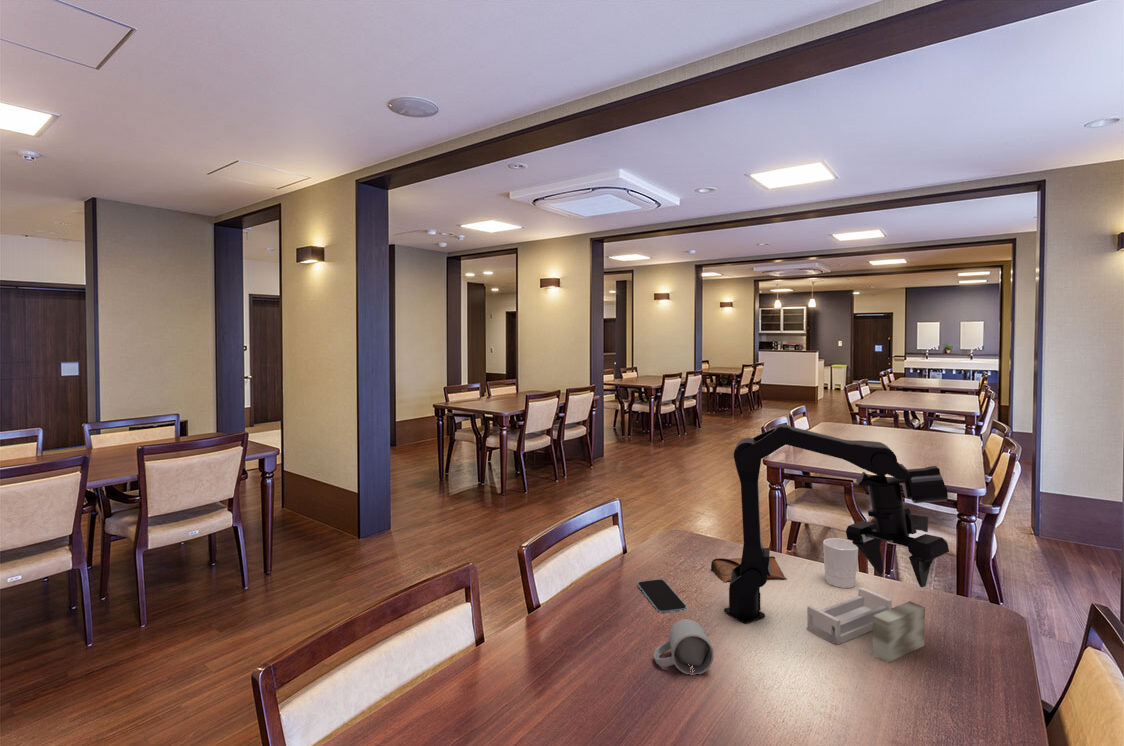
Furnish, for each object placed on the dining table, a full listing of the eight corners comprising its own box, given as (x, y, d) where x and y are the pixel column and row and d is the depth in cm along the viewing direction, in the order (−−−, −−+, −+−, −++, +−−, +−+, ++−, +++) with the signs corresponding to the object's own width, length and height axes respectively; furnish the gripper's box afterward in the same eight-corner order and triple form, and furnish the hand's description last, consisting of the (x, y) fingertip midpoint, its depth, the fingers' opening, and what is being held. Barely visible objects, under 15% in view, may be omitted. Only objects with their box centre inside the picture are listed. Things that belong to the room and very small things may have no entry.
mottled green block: (887, 663, 104) (888, 622, 104) (872, 655, 107) (873, 615, 106) (924, 646, 110) (925, 607, 109) (908, 638, 112) (909, 601, 112)
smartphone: (658, 611, 124) (636, 581, 139) (658, 616, 124) (636, 586, 139) (688, 607, 126) (662, 578, 140) (688, 612, 126) (662, 582, 140)
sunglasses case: (722, 583, 139) (717, 556, 142) (713, 586, 145) (709, 560, 148) (790, 579, 140) (784, 552, 143) (778, 582, 147) (773, 556, 150)
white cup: (849, 576, 142) (850, 538, 141) (863, 590, 134) (864, 550, 133) (818, 575, 143) (818, 537, 142) (829, 589, 135) (830, 549, 134)
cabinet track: (836, 645, 110) (837, 621, 110) (807, 629, 117) (807, 606, 116) (891, 622, 119) (891, 600, 118) (860, 608, 125) (861, 587, 125)
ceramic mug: (704, 650, 109) (703, 613, 109) (714, 675, 101) (713, 635, 101) (651, 651, 110) (650, 614, 109) (656, 676, 102) (655, 636, 101)
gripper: (960, 501, 106) (975, 581, 106) (874, 489, 123) (887, 557, 123) (921, 516, 102) (936, 599, 102) (838, 501, 119) (851, 572, 119)
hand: (901, 579), depth 111 cm, fingers open, 9 cm apart
